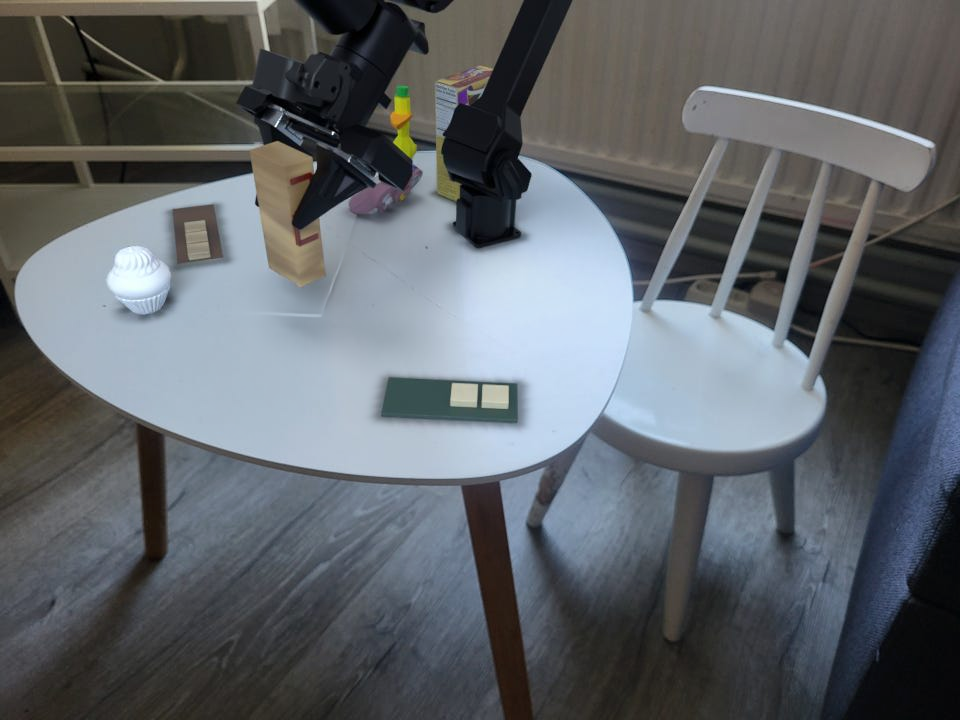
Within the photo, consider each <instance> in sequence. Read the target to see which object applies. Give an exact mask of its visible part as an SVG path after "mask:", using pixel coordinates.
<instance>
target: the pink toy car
mask: <svg viewBox="0 0 960 720" xmlns="http://www.w3.org/2000/svg"><path fill="white" fill-rule="evenodd" d="M412 168H413V175H412V177H411V179H410V181H409V182H408V184H407V186H406V188H405V189H404V191H403V192H401V191H399V190H397V189H395V188H393V187H390V186H388V185H386V184H384V183H382V182H381V181H380V180H379V176H378V175H377V176H375V177H374V178H373V180H372V181H373V182H375V183H376V184H377V185H376V187H375V188H374V189H372V188H370V187H368V188H366V189H364V190H362V191H360V192H359V193H357V194H355V195H353V196H352V197H350V198H349V201H348V208H349V211H350V212H351V213H354V214H356V215H366V214H368V213H370V212H372V211H374V210H375V209H377V211H379V212H380V213H385V211H387V210H388V209H389V208H390V206H391V205H392V203H393V202H394V203H395V204H399V203H401V202H402V201H405V199H406V196H407V195H408V193H409V192H410V191H411V190H413V188H414V187H415V186H416V185H417V184H418V183H419V181H420V180H421V178H422V176H423V170H422V169H420V168H419V167H418V166H417V165H416V164H414V163H412Z"/></svg>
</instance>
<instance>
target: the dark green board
mask: <svg viewBox="0 0 960 720" xmlns="http://www.w3.org/2000/svg"><path fill="white" fill-rule="evenodd" d="M381 417H386V418H387V417H389V418H393V417H394V418H408V419H409V418H410V419H428V420H429V419H430V420H451V421H468V422H469V421H470V422H491V423H493V422H494V423H509V424H510V423H511V424H512V423H513V424H517V423H518V383H516V382H515V383H514V382H513V383H512V382H493V381H492V382H491V381H472V380H454V379H453V380H452V379H451V380H450V379H433V378H431V379H429V378H413V377H412V378H411V377H391V376H390V377H389V376H388V379H387V383H386V389H385V393H384V399H383V403H382V407H381Z"/></svg>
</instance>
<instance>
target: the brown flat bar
mask: <svg viewBox="0 0 960 720" xmlns="http://www.w3.org/2000/svg"><path fill="white" fill-rule="evenodd" d="M172 221H173V222H172V223H173V232H174V242H175V253H176V255H175V256H176V264H177V265H181V264H188V263H195V262H196V263H197V262H203V261H209V260H217V259H223V258H224V254H223V248H222V244H221V237H220V231H219V227H218V220H217V216H216V210H215V205H214V203H213V204H211V203H210V204H204V205H203V204H202V205H195V206H187V207H179V208H172Z"/></svg>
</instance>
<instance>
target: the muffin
mask: <svg viewBox="0 0 960 720" xmlns="http://www.w3.org/2000/svg"><path fill="white" fill-rule="evenodd" d="M113 261H114V262H113V263H114V264H113V266H112V268H111V269H110V271H109V272H108V274H107V276H106V280H105V281H106V285H107V288H108V290H109V291H110V292H111V294H113V296H114V297H115V298H116V300H118V301H119V302H120V303H122V304H123V305H124V306H125V307H126V308H128V309H129V310H130V311H131V312H132V313H134V314H136V315H142V316H143V315H145V316H146V315H150V314H153V313H156V312H159V311H160V310H161V309H162V308H163V305H165V303H166V300H167V297H168V294H169V291H170V288H171V281H172V280H171V279H172V272H171V269H170V267H169V266H168V264H166V262H164V261H162V260H161V259H158V258H157V257H155V256H154V255H153V253H152V251H151V250H150V249H149V248H147V247H144V246H142V245H131V246H130V245H129V246H127V247H123V248H122V249H120V250H119V251H118V252H117V253H116V254H115V256H114V259H113Z"/></svg>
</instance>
